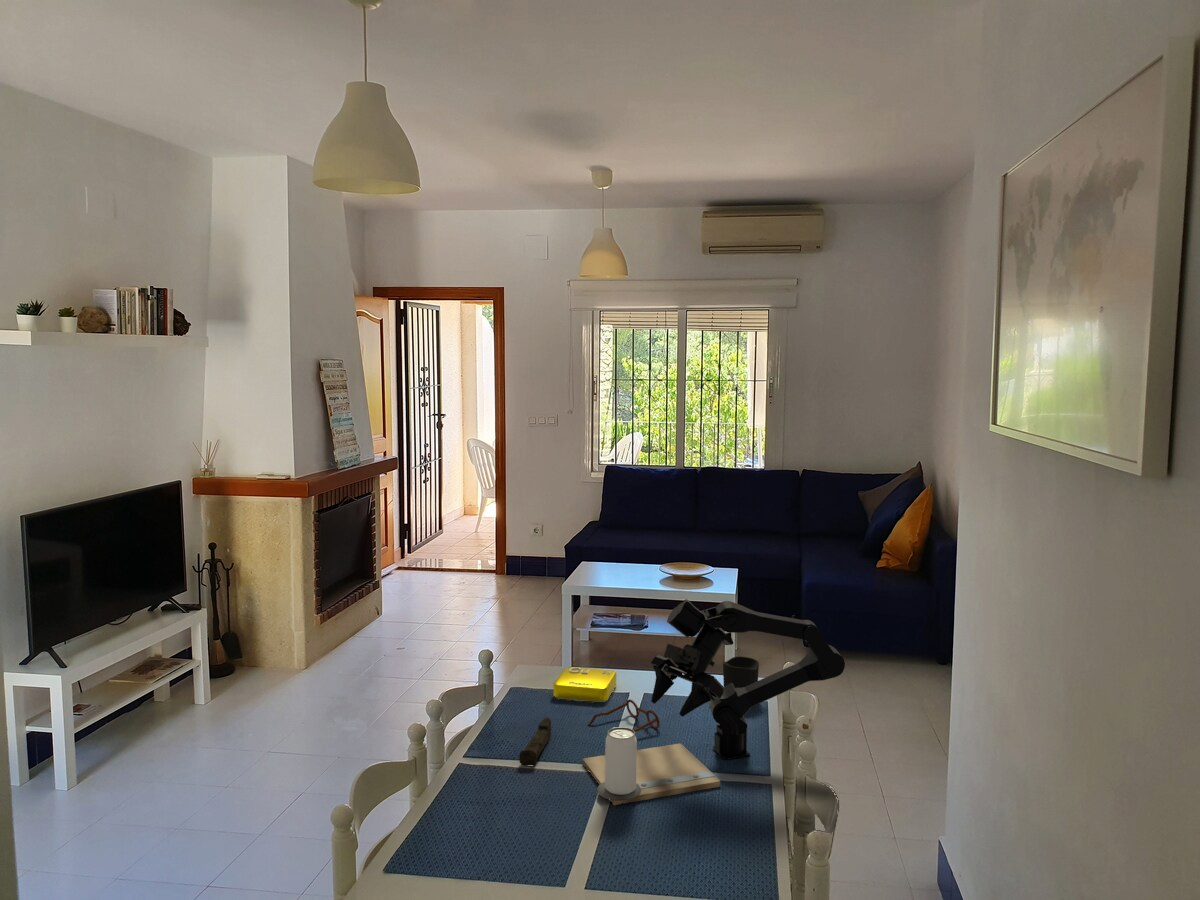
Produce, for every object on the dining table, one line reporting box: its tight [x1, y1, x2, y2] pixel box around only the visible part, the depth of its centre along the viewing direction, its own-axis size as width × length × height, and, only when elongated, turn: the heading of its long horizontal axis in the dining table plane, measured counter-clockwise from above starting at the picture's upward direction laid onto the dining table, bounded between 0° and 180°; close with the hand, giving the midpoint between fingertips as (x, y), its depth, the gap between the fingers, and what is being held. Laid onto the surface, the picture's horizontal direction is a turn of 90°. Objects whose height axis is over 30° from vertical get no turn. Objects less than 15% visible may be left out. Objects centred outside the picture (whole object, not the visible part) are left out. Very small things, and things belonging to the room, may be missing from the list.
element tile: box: [553, 666, 617, 701], centre depth 242 cm, size 15×15×5 cm
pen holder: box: [722, 656, 760, 688], centre depth 236 cm, size 9×9×10 cm
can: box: [604, 726, 638, 795], centre depth 182 cm, size 6×6×12 cm
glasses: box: [587, 698, 661, 733], centre depth 217 cm, size 13×13×5 cm
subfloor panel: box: [582, 742, 721, 806], centre depth 191 cm, size 26×21×1 cm
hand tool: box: [519, 717, 552, 766], centre depth 205 cm, size 19×4×5 cm, turn 166°
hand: (666, 708), depth 194 cm, fingers open, 9 cm apart
